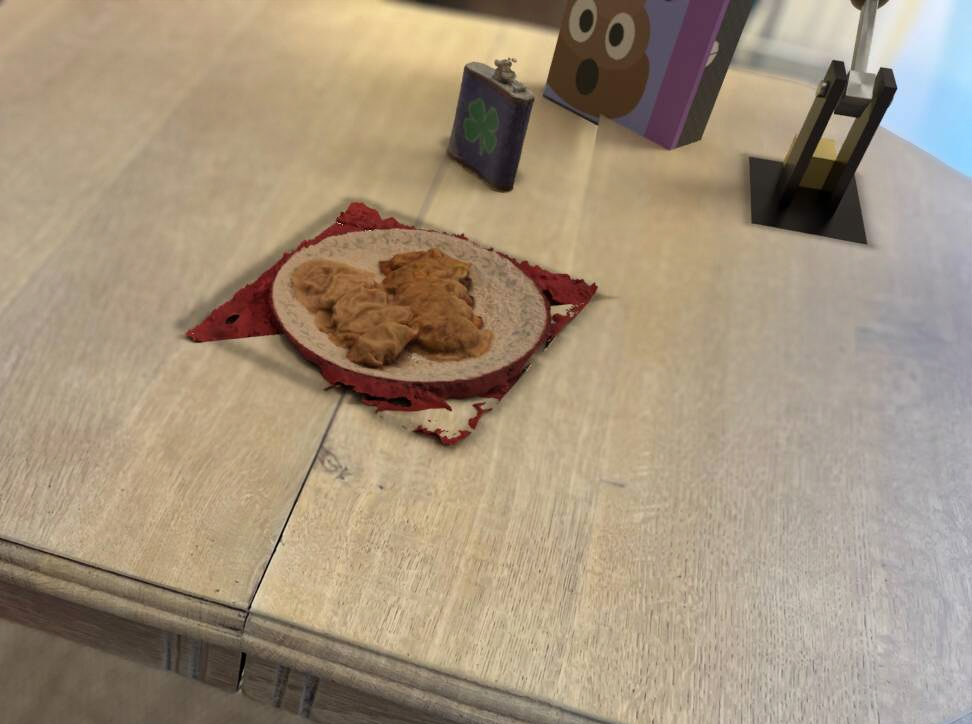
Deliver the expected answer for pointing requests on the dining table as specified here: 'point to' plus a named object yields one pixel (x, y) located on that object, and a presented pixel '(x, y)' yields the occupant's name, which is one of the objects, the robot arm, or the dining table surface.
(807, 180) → the butter
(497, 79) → the flask
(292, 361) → the dining table surface
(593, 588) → the dining table surface
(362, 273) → the plate with food
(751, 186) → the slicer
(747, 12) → the cereal box
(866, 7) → the slicer arm
